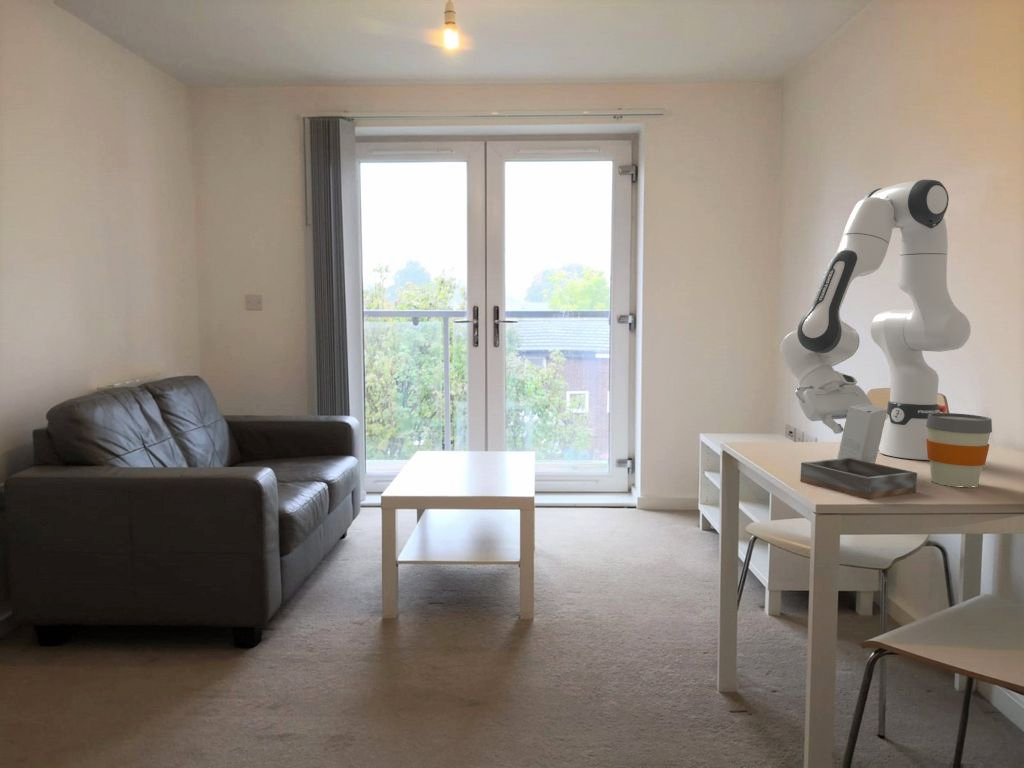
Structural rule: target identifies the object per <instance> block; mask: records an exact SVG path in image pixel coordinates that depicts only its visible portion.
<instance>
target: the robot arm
mask: <svg viewBox="0 0 1024 768" xmlns="http://www.w3.org/2000/svg"><path fill="white" fill-rule="evenodd" d="M948 206H949V193H948V191H947V189H946V187H945V186H944V184H943V183H942V182H941V181H939V180H935V179H921V180H916V181H914V180H912V181H906V182H904V181H903V182H899V183H897V184H893V185H890V186H887V187H883V188H877V189H874V190H872V191H870V192H869V193H867V194H866V195H865V196H864V197H863V198H862V199H861V200H859V201H858V202H857V203H856V204H855V205H854V208H853V209H852V211H851V213H850V215H849V216H848V219H847V221H846V224H845V227H844V229H843V232H842V236H841V237H840V241H839V245H838V247H837V250H836V252H835V254H834V255H833V257H832V258H831V260H830V262H829V263H828V265H827V268H826V269H825V272H824V275H823V277H822V280H821V282H820V285H819V287H818V290H817V292H816V294H815V297H814V300H813V302H812V304H811V305H810V308H809V309H808V311H807V312H806V313H805V314H804V316H803V317H802V318H801V320H800V321H799V324H798V327H797V329H796V330H793V331H791V332H790V333H788V334H787V335H786V336H785V337H784V338H783V339H782V341H781V343H780V346H779V350H780V354H781V357H782V359H783V362H784V363H785V365H786V366H787V368H788V370H789V371H790V373H791V374H792V375H793V376H794V377H796V379H797V380H798V384H799V386H798V387H797V388H796V390H794V391H795V392H794V393H795V395H796V398H797V401H798V404H799V407H800V409H801V410H802V412H803V414H804V416H805V417H806V419H808V420H809V421H811V422H818V421H819V422H820V421H821V422H822V423H823V425H825V426H827V427H828V428H829V429H831V430H832V432H833V434H835V435H837V434H841V433H843V431H844V427H843V426H842V424H841V423H837V422H836V421H835V420H846V417H847V413H848V408H849V407H851V406H855V405H860V404H864V403H865V404H869V405H872V406H874V405H873V402H872V400H871V399H870V398H869V396H868V395H867V394H866V393H865V391H864V389H863V388H861V386H859V385H857V384H858V381H857V379H856V378H855V377H854V376H852V375H848V374H844V373H841V372H840V371H838V370H835V369H834V366H837V365H839V364H841V363H842V362H845V361H846V360H848V359H850V358H851V357H853V356H854V355H855V354H856V352H857V351H858V349H859V346H860V335H859V333H858V332H857V330H856V329H855V328H853V327H852V326H850V325H849V324H847V323H846V322H844V321H843V320H841V315H840V312H841V308H842V305H843V304H844V301H845V297H846V295H847V292H848V290H849V287H850V285H851V284H852V282H853V281H854V280H855V279H856V278H858V277H865V276H868V275H871V274H873V273H874V272H876V271H878V270H879V269H880V267H881V265H882V264H883V261H884V260H885V257H886V255H887V252H888V249H889V245H890V242H891V237H892V233H893V230H894V229H899V231H900V232H901V239H900V244H899V253H898V267H897V268H898V269H897V285H898V287H899V290H901V291H902V292H904V293H906V294H908V295H909V297H910V299H911V301H912V305H913V308H894V309H890V310H885V311H881V312H879V313H877V314H876V315H875V316H874V318H873V320H872V321H871V324H870V335H871V339H872V340H873V341H874V343H875V344H876V345H877V346H878V347H879V348H880V349H881V350H882V352H883V354H884V355H885V356H884V357H885V358H886V360H887V363H888V366H889V373H890V374H889V375H890V386H889V387H890V390H889V400H888V401H887V406H886V409H887V414H886V415H887V417H886V418H885V423H884V427H883V432H882V436H881V440H880V445H879V449H878V452H879V453H881V454H882V455H886V456H890V457H894V458H902V459H911V460H922V461H923V460H924V461H930V460H929V459H928V456H927V442H926V439H927V438H928V427H926V424H927V419H928V414H930V413H947V411H948V406H947V405H946V404H938V394H939V393H938V392H939V379H940V378H939V375H938V373H937V371H936V370H935V369H934V368H933V367H931V366H930V365H928V364H927V362H926V360H925V358H924V355H923V352H934V353H935V352H937V353H938V352H939V353H940V352H950V351H955V350H959V349H961V348H962V347H964V345H966V343H967V342H968V341H969V339H970V336H971V329H972V328H971V324H970V320H969V318H968V317H967V316H966V315H965V314H964V313H963V312H962V311H960V309H958V308H957V306H956V305H955V303H954V302H953V299H952V298H951V295H950V293H949V288H948V284H947V281H948V280H947V274H948V273H947V270H948V269H947V268H948V249H949V247H948V244H949V242H948V229H947V224H946V222H947V221H946V219H945V218H944V217H945V215H946V212H947V210H948Z"/></svg>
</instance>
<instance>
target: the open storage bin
mask: <svg viewBox="0 0 1024 768" xmlns="http://www.w3.org/2000/svg"><path fill="white" fill-rule="evenodd" d="M917 478H918V472H915V471H911V470H906V469H901V468H897V467H893V466H889V465H884V464H878V463H876V462H875V463H870V462H866V461H861V460H857V459H852V458H841V459H837V458H832V459H823V460H822V459H821V460H813V461H802V462H800V482H802V483H805V482H806V484H810V485H813V486H816V487H817V486H818V487H820V488H824V489H827V490H832V491H834V492H835V491H836V492H839V493H842V494H847V495H850V496H854V497H857V498H861V499H865V500H870V499H876V498H877V499H878V498H884V497H890V496H891V497H892V496H898V494H900V495H904V494H905V493H907V494H911V493H910V492H915V493H917V481H918V479H917ZM905 495H906V494H905Z"/></svg>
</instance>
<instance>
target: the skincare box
mask: <svg viewBox="0 0 1024 768" xmlns="http://www.w3.org/2000/svg"><path fill="white" fill-rule="evenodd" d="M887 415H888V414H887V408H883V407H880V406H876V405H873V406H872V405H869V404H865V403H864V404H860V405H855V406H851V407H849V408H848V413H847V417H846V419H845V422H844V427H843V429H844V430H843V431H842V436H841V440H840V445H839V450H838V454H837V458H836V459H841V458H852V459H857V460H861V461H866V462H870V463H875V464H876V461H877V457H878V452H879V450H878V449H879V445H880V444H881V437H882V432H883V427H884V423H885V420H886V419H887Z"/></svg>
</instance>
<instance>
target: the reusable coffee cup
mask: <svg viewBox="0 0 1024 768" xmlns="http://www.w3.org/2000/svg"><path fill="white" fill-rule="evenodd" d="M992 424H993V423H992V418H991V417H988V416H982V415H976V414H969V413H968V414H966V413H957V412H954V413H953V412H946V413H943V412H940V413H930V414H928V419H927V424H926V427H928V438H927V439H926V442H927V456H928V459H929V460H928V461H929V466H930V481H931V482H932V481H933V482H932V483H934V482H935V483H934V484H936V483H939V484H938V485H940V484H942V485H941V486H944V485H949V486H948V487H950V486H963V487H972V486H977V485H978V486H979V482H980V477H981V473H982V470H983V466H984V465H986V461H987V457H988V454H989V449H990V444H989V440H990V434H991V433H993V425H992ZM978 486H977V487H978Z"/></svg>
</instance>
